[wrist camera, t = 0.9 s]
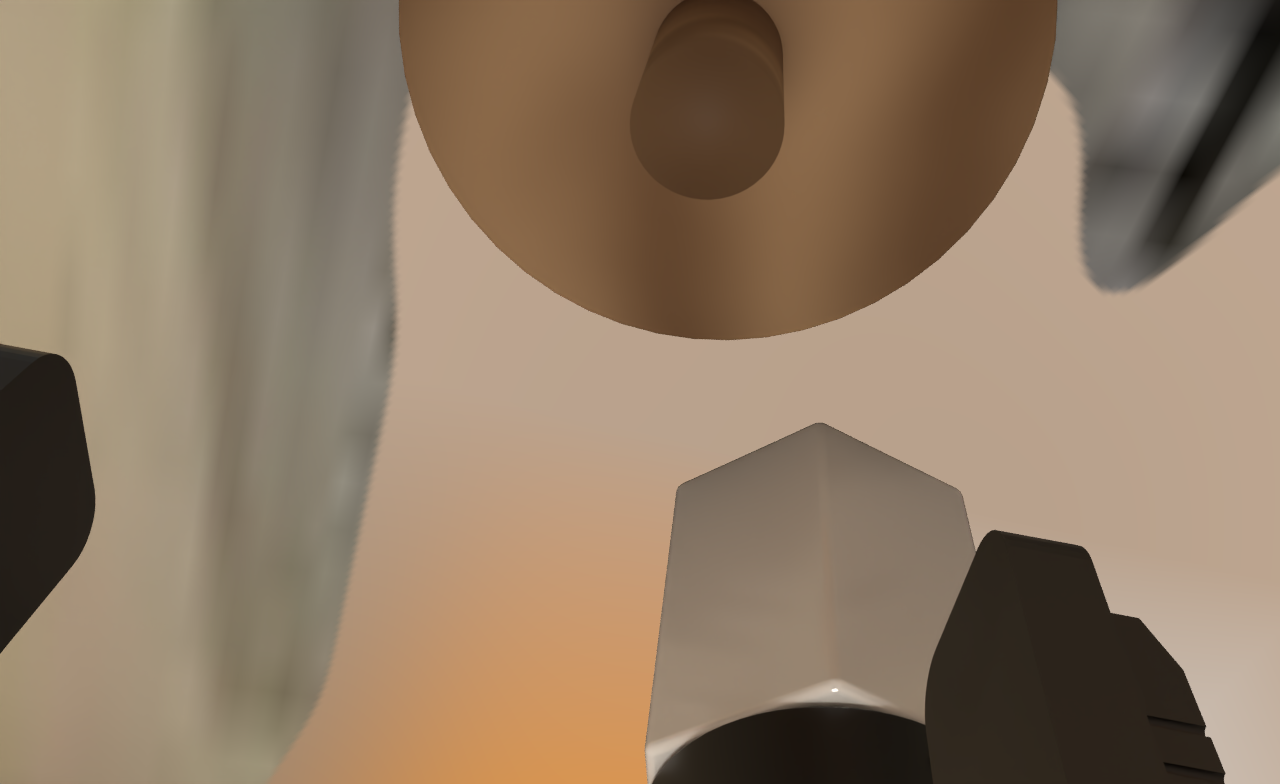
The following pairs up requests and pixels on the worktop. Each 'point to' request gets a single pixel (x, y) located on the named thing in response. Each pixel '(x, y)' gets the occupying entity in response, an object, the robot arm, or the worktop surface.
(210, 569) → the worktop surface
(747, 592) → the jar
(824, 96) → the lid
